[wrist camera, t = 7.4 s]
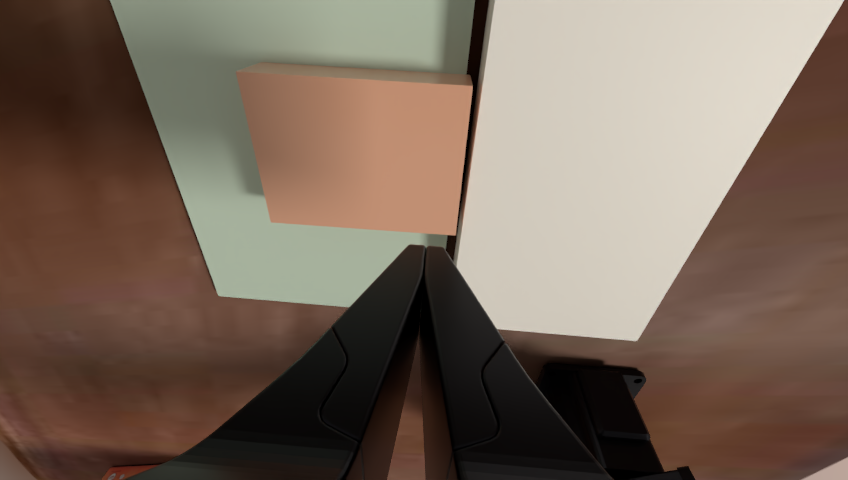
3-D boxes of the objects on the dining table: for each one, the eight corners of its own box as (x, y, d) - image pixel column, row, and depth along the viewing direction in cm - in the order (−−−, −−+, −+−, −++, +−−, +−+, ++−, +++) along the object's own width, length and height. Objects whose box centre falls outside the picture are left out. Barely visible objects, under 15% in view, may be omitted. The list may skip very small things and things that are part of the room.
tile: (455, 211, 17) (455, 235, 15) (287, 200, 17) (270, 222, 15) (470, 74, 14) (473, 86, 12) (261, 61, 14) (235, 71, 12)
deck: (622, 313, 21) (637, 341, 19) (448, 298, 21) (448, 324, 19) (857, -128, 10) (935, -150, 9) (509, -152, 10) (520, -178, 9)
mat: (438, 309, 21) (438, 314, 21) (222, 291, 21) (218, 295, 21) (498, -205, 10) (500, -212, 10) (35, -235, 10) (20, -243, 10)
